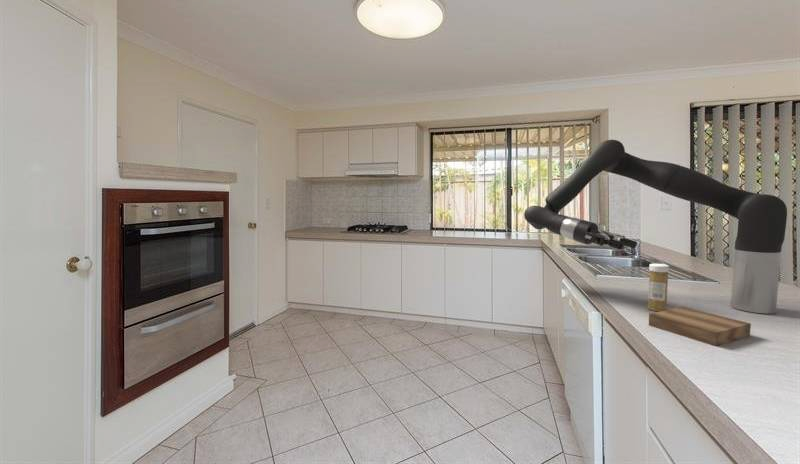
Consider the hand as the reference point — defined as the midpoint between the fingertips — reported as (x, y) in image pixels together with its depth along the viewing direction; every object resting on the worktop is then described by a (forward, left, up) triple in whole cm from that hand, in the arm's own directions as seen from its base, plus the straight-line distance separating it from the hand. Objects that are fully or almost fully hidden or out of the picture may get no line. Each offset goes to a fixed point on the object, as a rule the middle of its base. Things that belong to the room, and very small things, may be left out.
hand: (629, 245), depth 103 cm
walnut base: (+4, +20, -18) cm, 28 cm away
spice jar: (-4, +6, -19) cm, 20 cm away
